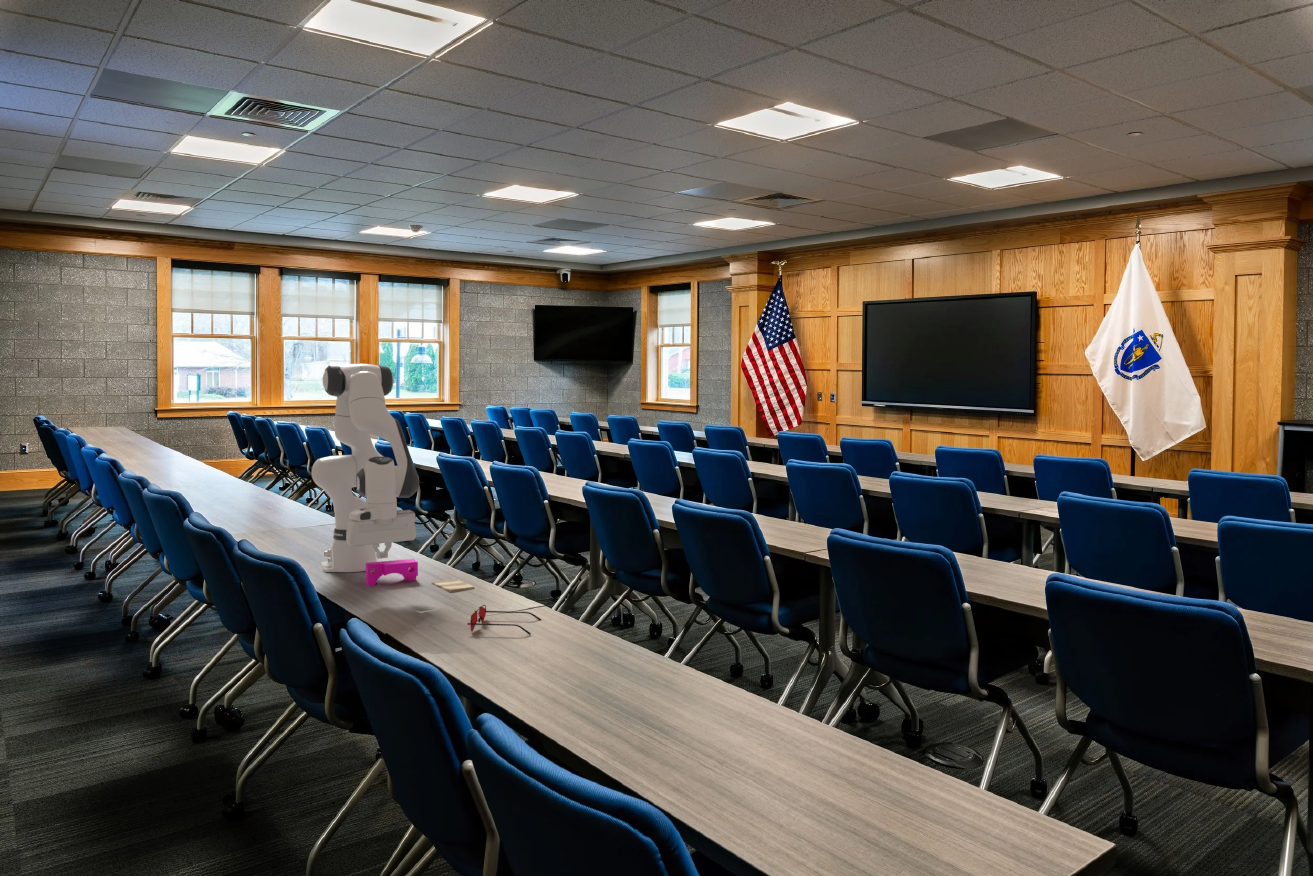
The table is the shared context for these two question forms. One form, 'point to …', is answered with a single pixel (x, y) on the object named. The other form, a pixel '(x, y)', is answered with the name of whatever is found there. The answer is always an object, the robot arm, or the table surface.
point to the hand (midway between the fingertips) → (382, 558)
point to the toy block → (391, 570)
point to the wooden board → (453, 585)
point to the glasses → (482, 615)
